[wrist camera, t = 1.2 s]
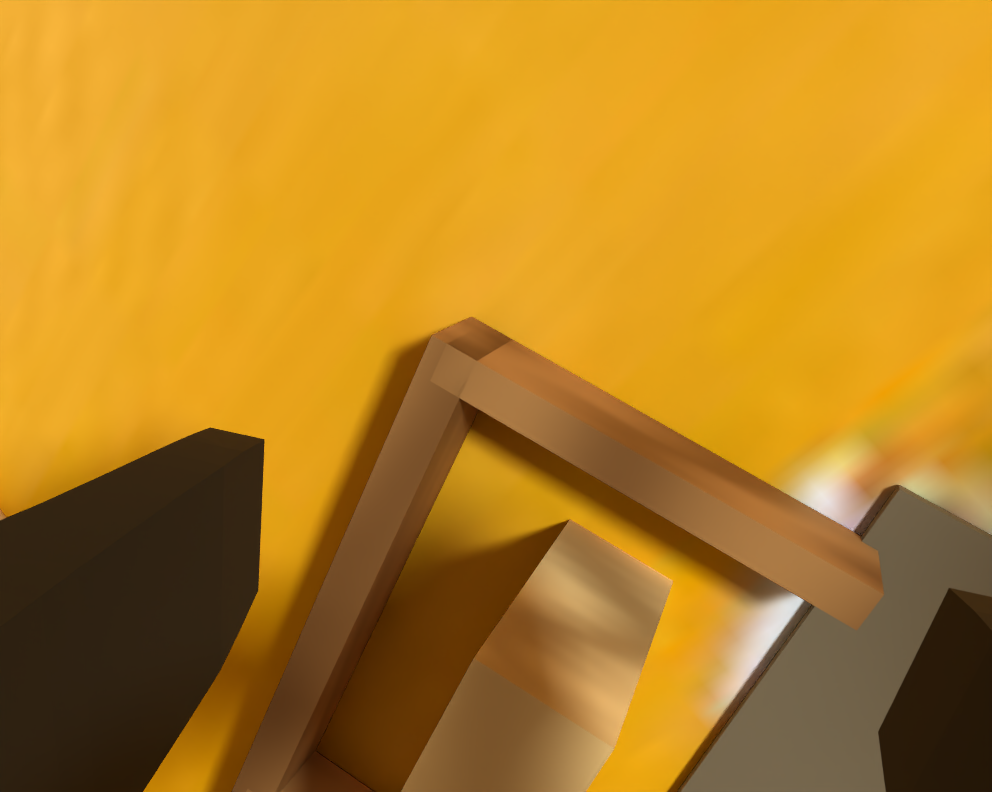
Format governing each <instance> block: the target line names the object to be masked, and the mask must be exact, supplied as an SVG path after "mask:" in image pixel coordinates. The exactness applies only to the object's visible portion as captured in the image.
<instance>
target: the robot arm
mask: <svg viewBox="0 0 992 792" xmlns="http://www.w3.org/2000/svg"><path fill="white" fill-rule="evenodd" d="M263 463H264V439H260V438H256V437H251V436H246V435H242V434H237V433H233V432H228V431H223V430H219V429H214V428H208V429H205V430H202V431H200V432H197V433H195V434H192V435H190V436H187V437H185V438H183V439H180V440H178V441H176V442H174V443H171V444H169V445H167V446H165V447H163V448H161V449H158V450H156V451H154V452H152V453H150V454H148V455H145V456H143V457H141V458H139V459H137V460H135V461H133V462H130V463H128V464H126V465H124V466H122V467H120V468H118V469H115V470H113V471H111V472H109V473H107V474H104V475H102V476H100V477H98V478H96V479H94V480H91V481H89V482H87V483H85V484H83V485H80V486H78V487H76V488H74V489H72V490H69V491H67V492H65V493H63V494H61V495H58V496H56V497H54V498H52V499H50V500H47V501H45V502H43V503H41V504H38V505H36V506H34V507H31V508H29V509H27V510H24V511H22V512H19V513H17V514H14V515H12V516H9V517H7V518H5V519H2V520H0V792H143V791H144V789H145V788H146V786H147V785H148V783H149V781H150V780H151V778H152V777H153V775H154V774H155V772H156V771H157V769H158V767H159V766H160V764H161V763H162V761H163V760H164V758H165V757H166V755H167V754H168V752H169V750H170V749H171V747H172V746H173V744H174V743H175V741H176V740H177V738H178V737H179V735H180V733H181V732H182V730H183V729H184V727H185V726H186V724H187V722H188V721H189V719H190V718H191V716H192V715H193V713H194V711H195V710H196V708H197V707H198V705H199V704H200V702H201V700H202V699H203V697H204V696H205V694H206V693H207V691H208V689H209V688H210V686H211V685H212V683H213V681H214V680H215V678H216V676H217V675H218V673H219V672H220V670H221V668H222V666H223V664H224V662H225V660H226V658H227V656H228V654H229V652H230V650H231V647H232V645H233V643H234V641H235V639H236V637H237V635H238V633H239V631H240V629H241V627H242V624H243V622H244V620H245V618H246V616H247V614H248V611H249V609H250V607H251V605H252V603H253V600H254V598H255V596H256V594H257V592H258V582H259V559H260V535H261V511H262V487H263ZM878 736H879V744H880V751H881V759H882V767H883V775H884V783H885V789H886V792H992V597H990V596H985V595H980V594H976V593H971V592H967V591H962V590H957V589H953V588H949V589H948V591H947V593H946V595H945V597H944V599H943V601H942V603H941V605H940V607H939V609H938V611H937V613H936V615H935V617H934V619H933V621H932V623H931V625H930V627H929V629H928V631H927V633H926V635H925V637H924V639H923V642H922V644H921V646H920V648H919V650H918V652H917V654H916V656H915V658H914V660H913V662H912V664H911V666H910V668H909V670H908V672H907V674H906V676H905V678H904V680H903V682H902V684H901V686H900V688H899V690H898V692H897V694H896V696H895V698H894V700H893V702H892V704H891V706H890V708H889V710H888V713H887V715H886V717H885V719H884V721H883V723H882V725H881V727H880V729H879V731H878Z"/></svg>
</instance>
